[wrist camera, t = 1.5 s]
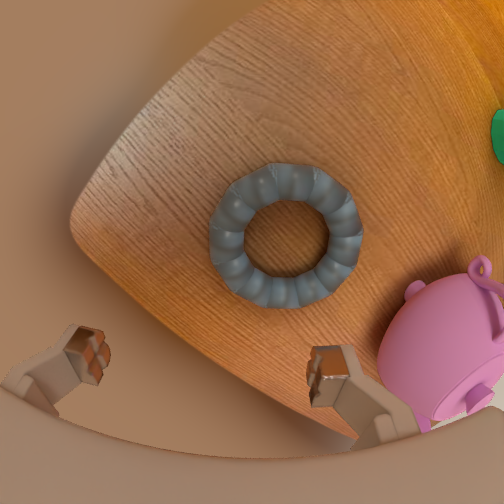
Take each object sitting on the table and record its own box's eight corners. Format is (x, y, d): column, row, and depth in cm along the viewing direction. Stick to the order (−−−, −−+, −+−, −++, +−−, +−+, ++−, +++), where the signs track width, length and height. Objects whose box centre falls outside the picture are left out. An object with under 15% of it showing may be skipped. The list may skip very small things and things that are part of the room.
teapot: (428, 376, 28) (460, 446, 17) (338, 387, 28) (359, 480, 17) (495, 244, 20) (569, 307, 8) (400, 226, 19) (502, 322, 8)
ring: (211, 159, 18) (205, 162, 15) (364, 170, 18) (378, 176, 15) (213, 294, 22) (209, 312, 20) (341, 297, 22) (349, 314, 20)
